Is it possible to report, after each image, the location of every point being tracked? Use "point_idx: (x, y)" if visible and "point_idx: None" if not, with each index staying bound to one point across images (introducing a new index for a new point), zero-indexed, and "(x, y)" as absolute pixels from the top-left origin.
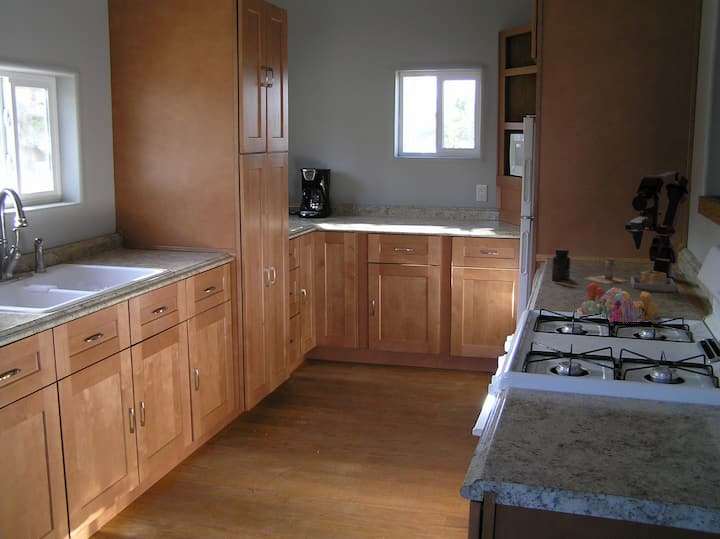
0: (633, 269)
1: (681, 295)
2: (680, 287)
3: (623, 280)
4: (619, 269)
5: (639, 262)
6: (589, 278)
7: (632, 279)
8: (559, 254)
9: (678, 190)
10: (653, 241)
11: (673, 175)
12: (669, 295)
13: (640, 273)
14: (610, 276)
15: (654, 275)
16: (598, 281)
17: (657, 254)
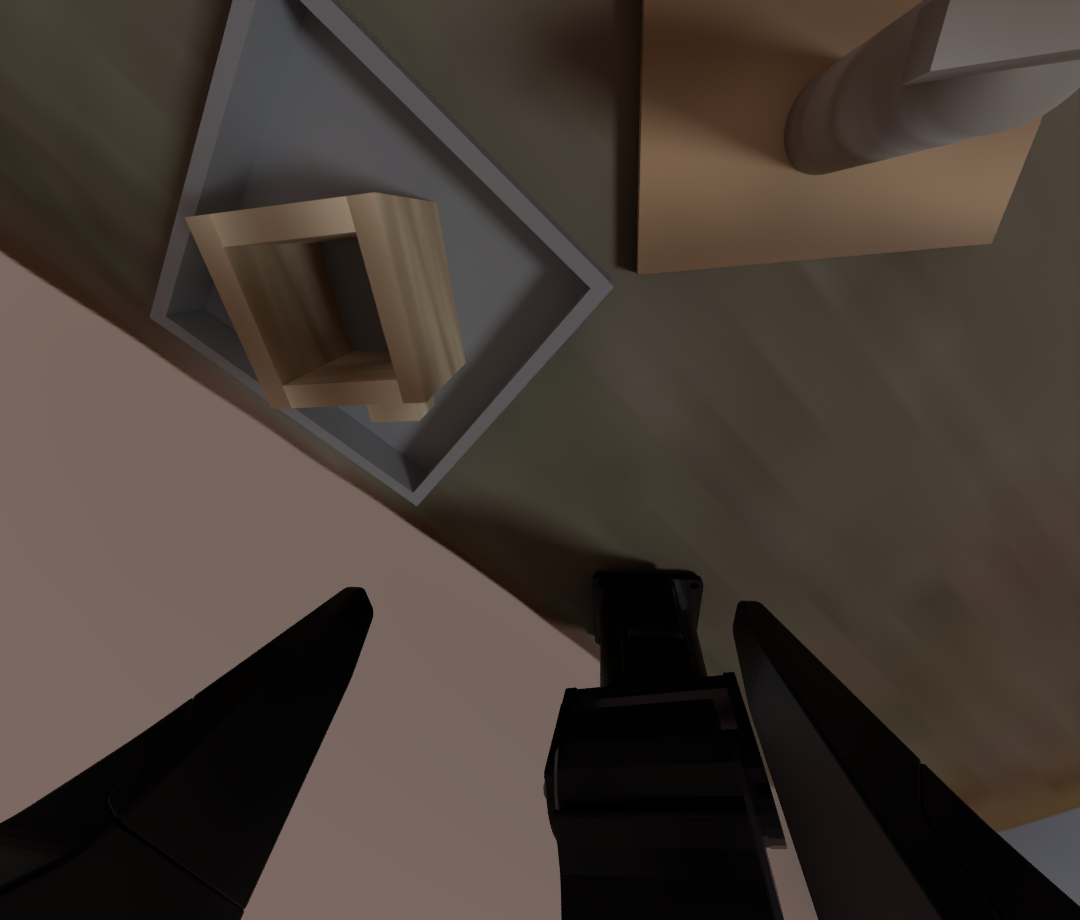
0: (927, 668)
1: (103, 268)
2: (360, 474)
3: (662, 221)
4: (1017, 616)
5: (1004, 803)
6: None
7: (472, 149)
8: None
9: None
10: (755, 909)
11: None
12: (88, 169)
13: (374, 192)
14: (807, 97)
15: (192, 218)
16: None
17: (648, 722)
